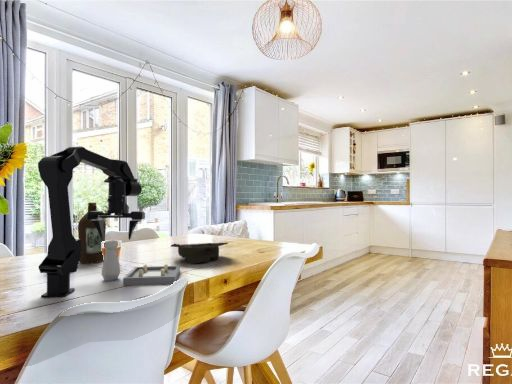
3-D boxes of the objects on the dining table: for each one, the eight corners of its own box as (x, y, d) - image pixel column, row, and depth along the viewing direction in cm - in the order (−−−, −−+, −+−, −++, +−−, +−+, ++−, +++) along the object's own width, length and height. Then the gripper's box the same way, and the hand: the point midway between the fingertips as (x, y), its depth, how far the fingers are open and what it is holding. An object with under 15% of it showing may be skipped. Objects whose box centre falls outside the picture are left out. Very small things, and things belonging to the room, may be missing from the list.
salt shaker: (99, 279, 110) (99, 240, 110) (116, 276, 114) (116, 239, 114) (105, 282, 106) (105, 242, 106) (123, 279, 110) (123, 240, 110)
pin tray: (174, 283, 105) (174, 272, 105) (123, 285, 103) (123, 273, 103) (179, 271, 121) (179, 261, 121) (135, 272, 119) (135, 262, 119)
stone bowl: (198, 268, 126) (197, 244, 126) (158, 264, 141) (157, 243, 141) (239, 257, 146) (238, 236, 146) (201, 255, 161) (199, 236, 161)
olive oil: (74, 261, 139) (74, 202, 139) (100, 257, 146) (100, 202, 147) (82, 265, 131) (82, 203, 132) (109, 261, 139) (109, 202, 139)
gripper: (148, 196, 126) (147, 236, 126) (97, 195, 124) (96, 237, 123) (142, 196, 115) (141, 240, 115) (86, 195, 113) (85, 240, 112)
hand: (116, 239), depth 117 cm, fingers open, 9 cm apart
